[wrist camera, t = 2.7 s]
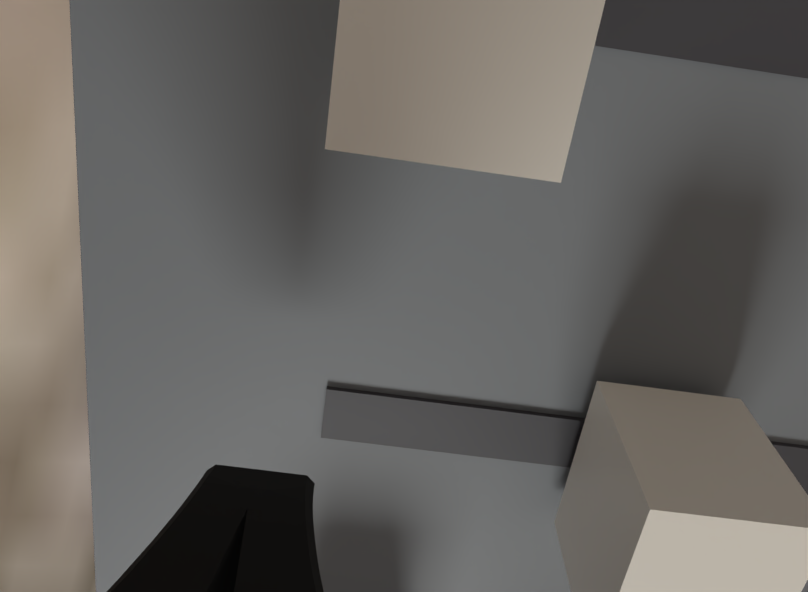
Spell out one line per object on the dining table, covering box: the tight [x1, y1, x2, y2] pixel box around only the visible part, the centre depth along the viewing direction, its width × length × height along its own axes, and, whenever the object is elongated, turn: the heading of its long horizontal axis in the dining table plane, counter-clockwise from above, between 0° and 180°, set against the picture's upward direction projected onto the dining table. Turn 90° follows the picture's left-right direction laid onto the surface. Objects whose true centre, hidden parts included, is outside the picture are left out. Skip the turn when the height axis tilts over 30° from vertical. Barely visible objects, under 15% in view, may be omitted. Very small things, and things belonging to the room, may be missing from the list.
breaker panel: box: [70, 0, 808, 592], centre depth 14 cm, size 17×22×1 cm
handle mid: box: [554, 381, 808, 592], centre depth 12 cm, size 2×3×3 cm
